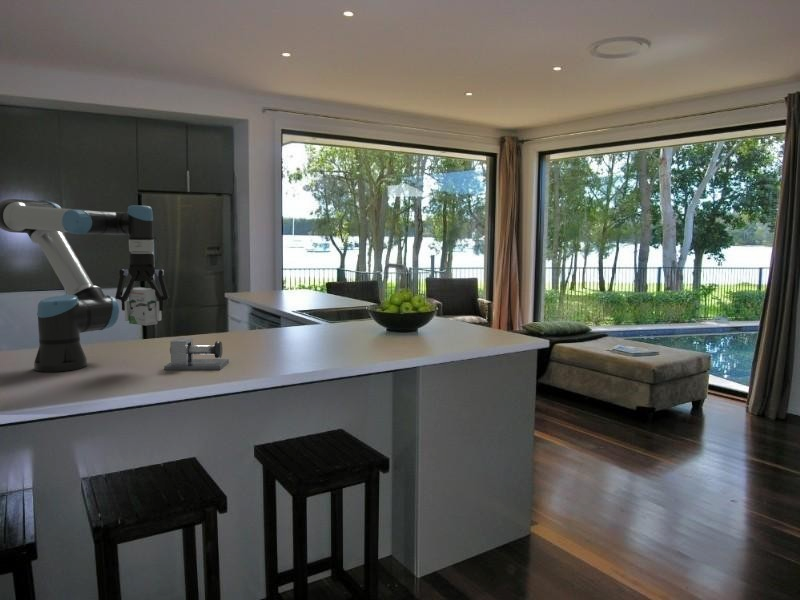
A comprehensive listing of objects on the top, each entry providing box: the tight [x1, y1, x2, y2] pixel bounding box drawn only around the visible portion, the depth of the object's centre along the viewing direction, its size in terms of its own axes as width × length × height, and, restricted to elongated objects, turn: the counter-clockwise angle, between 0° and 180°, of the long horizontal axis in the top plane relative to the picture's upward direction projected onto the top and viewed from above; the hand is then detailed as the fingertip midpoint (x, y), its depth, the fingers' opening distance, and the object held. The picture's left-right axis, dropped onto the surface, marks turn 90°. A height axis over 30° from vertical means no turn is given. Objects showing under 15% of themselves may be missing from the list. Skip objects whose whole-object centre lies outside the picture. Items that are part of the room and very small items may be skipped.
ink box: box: [128, 287, 158, 326], centre depth 199 cm, size 9×5×12 cm, turn 62°
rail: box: [163, 337, 230, 371], centre depth 201 cm, size 18×12×9 cm, turn 93°
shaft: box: [169, 340, 223, 359], centre depth 201 cm, size 16×6×6 cm, turn 93°
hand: (143, 320), depth 200 cm, fingers closed on ink box, 9 cm apart
